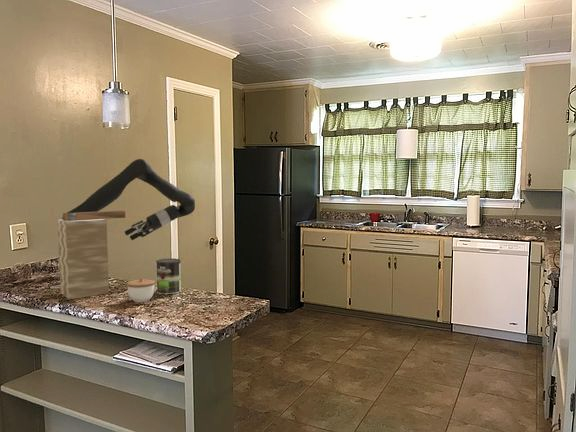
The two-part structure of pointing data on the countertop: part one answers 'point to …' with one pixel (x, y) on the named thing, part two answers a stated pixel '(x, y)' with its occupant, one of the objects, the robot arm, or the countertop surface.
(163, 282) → the coffee can
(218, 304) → the countertop surface
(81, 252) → the stand
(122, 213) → the tan wooden plank
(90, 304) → the countertop surface
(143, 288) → the lidded jar
